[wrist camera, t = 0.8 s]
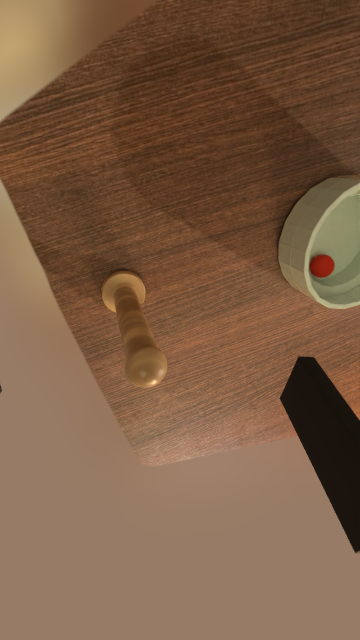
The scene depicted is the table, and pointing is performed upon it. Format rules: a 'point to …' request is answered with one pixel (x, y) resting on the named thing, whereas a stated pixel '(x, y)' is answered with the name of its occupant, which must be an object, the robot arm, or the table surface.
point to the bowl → (325, 242)
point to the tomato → (322, 266)
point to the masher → (134, 329)
